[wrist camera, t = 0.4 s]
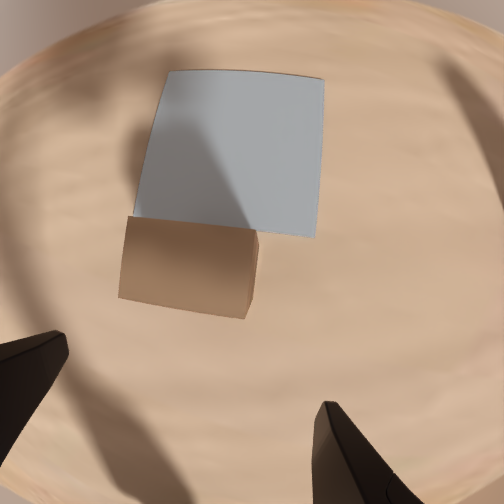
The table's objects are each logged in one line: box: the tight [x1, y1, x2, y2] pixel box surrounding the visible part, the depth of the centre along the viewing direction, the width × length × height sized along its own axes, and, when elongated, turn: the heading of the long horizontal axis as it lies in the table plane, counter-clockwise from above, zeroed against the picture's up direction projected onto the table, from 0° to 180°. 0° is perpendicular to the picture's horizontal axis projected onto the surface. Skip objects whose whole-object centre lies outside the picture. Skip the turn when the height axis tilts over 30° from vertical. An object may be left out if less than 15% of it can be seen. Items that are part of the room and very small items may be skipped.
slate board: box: [133, 70, 324, 238], centre depth 25 cm, size 16×16×1 cm
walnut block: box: [118, 216, 259, 319], centre depth 20 cm, size 4×7×10 cm, turn 83°
